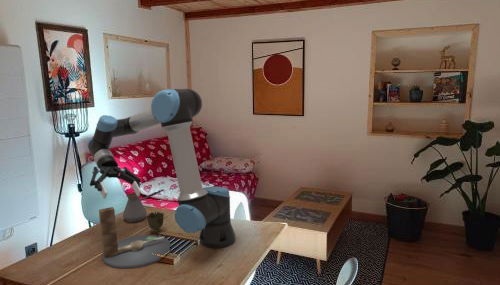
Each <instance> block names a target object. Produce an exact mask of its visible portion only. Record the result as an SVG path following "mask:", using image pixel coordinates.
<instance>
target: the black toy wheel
mask: <svg viewBox="0 0 500 285" xmlns="http://www.w3.org/2000/svg"><path fill="white" fill-rule="evenodd" d="M146 218H147V224H148V227H149V228H150V229H151V230H152V232H153V233H158V232H160V231H161V228H162V227H163V225H164V213H163V212H159V211H157V212H156V211H155V212H151V213H148V215H146Z"/></svg>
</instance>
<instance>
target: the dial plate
mask: <svg viewBox="0 0 500 285" xmlns="http://www.w3.org/2000/svg"><path fill="white" fill-rule="evenodd" d="M160 237H162V236H160V235H156V234H155V235H154V234H141V235H140V234H139V235H134V236H128V237H125V238H122V239H119V240H117V243H118V248H120V247H124V246H128V245H130V243H131V242H133V241H137V240H141V241H143V242H144V241H148V240H152V239H156V238H160ZM170 247H171V242H170V240H169V239H168V238H166V237H164V239H161V240H158V241H154V242H150V243H146V244H144V248H143V249H141V250H137V251H133V250H131V249H130V250H127V251H123V252H119V253H118V254H116V255H112V256H109V257H104V255H103V252H102V253H101V257H102V262H103V263H104V265H106V266H107V267H110V268H114V269H119V270H121V269H124V270H125V269H127V270H128V269H137V268H143V267H147V266H150V265H152V264H155V263H158V262H159V261H160V260H159V259H160V256H157V254H160V255H164V254H165V253H167V252H168V251H169V250H170ZM170 251H171V250H170ZM152 253H153V254H154V255H153V254H152ZM155 254H156V255H155Z"/></svg>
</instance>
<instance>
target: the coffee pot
mask: <svg viewBox="0 0 500 285" xmlns="http://www.w3.org/2000/svg"><path fill="white" fill-rule="evenodd" d="M161 192H163V193H165V192H166V190H165V189H160V190H157V191H154V192H152V193H151V194H148V195H146V196H144V197H142V198H140V196H139V197H138V196H137V195H136V193H135V192H131V193H128V194H126V197H127V198H128V199H127V201H126V204H125V207H124V210H123V213H122V217H123V219H124V220H126V221H127V222H128V223H137V222H141V221H143V220H144V219H145V217H147V214H148V212H147V210H146V208H145V206H144V204H143V203H142V201H144V200H146V199H147V198H151V197H153V196H156V195H157V194H161Z"/></svg>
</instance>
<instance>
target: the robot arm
mask: <svg viewBox="0 0 500 285" xmlns="http://www.w3.org/2000/svg"><path fill="white" fill-rule="evenodd" d="M150 104H151V105H150V109H148V110H144V111H142V112H138V113H137V114H134V115H131V116H128V117H126V118H120V119H117V118H116V117H114V116H112V115H107V114H104V115H101V116H100V117H99V119H98V121H97V123H96V127H95V129H94V130H95V131H94V134H93V136H91V137H90V138H89V139H88V140H87V143H86V144H87V145H86V146H87V149H88V152H89V153H90V154H91V156H92V158H93V160H94V162H95V164H96V166H93V168H92V171H91V172H92V177H91V179H90V182H89V186H90V187H92V186H94V189H95V190H96V189H97V192H100V194H101V195H102V199H106V198H107V196H108V190H107V188H106V187H105V185H104V183H103V182H104V180H106V178H109V179H110V178H114V179H115V178H116V179H118V180H122V181H124V182H126V183H128V184H130V185H131V188H132V189H133V191H134V193H136V195H137V196H138V197H139V198H140V196H141V193H142V190H141V186H140V183H141V181H142V179H141V178H140V177H139V176H137V175H136V174H134V173H133V172H132V171H131V170H129V169H128V168H127V167H126V166H124V167H123V168H121V167H119V165H118V162H117V160H116V158H115V156H114V154H113V153H112V151H111V149H110V146H111V143H112V141H113V138H119V137H123V136H128V135H135V134H139V133H140V132H141V131H144V130H148V129H150V128H153V127H156V126H158V125H160V126H161V129H163V131H166V133H167V138H168V144H169V149H170V152H171V156H172V162H173V166H174V170H175V174H176V178H177V179H176V180H177V185H178V188H179V195H178V197H177V203H178V206H177V207H176V209H175V211H174V220H175V222H176V224H177V226H178V227H179V228H180V229H181V230H183V231H184V232H186V233H188V234H195V233H197V232H200V233H199V238H198V239H199V240H200V241H199V244H200V245H201V246H202V247H203V248H204V247H205V248H208V249H222V248H226V247H229V246H231V245H233V244H234V243H235V241H236V233H235V230H234V227H233V225H232V223H231V196H230V191H229V189H228V188H226V187H222V186H205V187H203V183H202V178H201V175H200V170H199V169H200V168H199V166H198V160H197V156H196V150H195V146H194V141H193V136H192V132H191V128H190V127H191V125H192V124H193V122H194V121H193V118H194V117H196V116H197V115H198V114H199V113H200V112H201V110H202V108H203V100H202V97H201V95H200V94H199V92H197V91H195V90H193V89H192V88H168V89H163V90H160V91H158V92H156V94H155V95H154V97H153V98H152V100H151V103H150ZM99 173H100V174H101V175H100V176H99V177H98V178H97V180H96V177H97V175H98V174H99Z"/></svg>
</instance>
